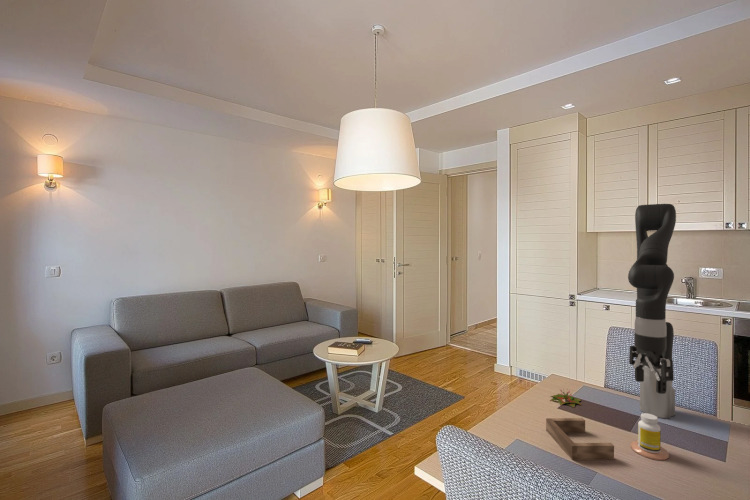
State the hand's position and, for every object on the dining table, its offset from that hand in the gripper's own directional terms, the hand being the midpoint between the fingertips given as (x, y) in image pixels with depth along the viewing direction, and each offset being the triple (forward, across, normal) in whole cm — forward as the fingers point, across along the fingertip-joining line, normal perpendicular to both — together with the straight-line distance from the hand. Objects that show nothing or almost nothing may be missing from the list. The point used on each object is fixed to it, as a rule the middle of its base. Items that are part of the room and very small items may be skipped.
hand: (649, 386), depth 107 cm
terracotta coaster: (+19, 0, 0) cm, 19 cm away
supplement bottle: (+19, 0, 0) cm, 19 cm away
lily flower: (+20, +34, +7) cm, 40 cm away
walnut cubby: (+19, +4, +19) cm, 27 cm away
